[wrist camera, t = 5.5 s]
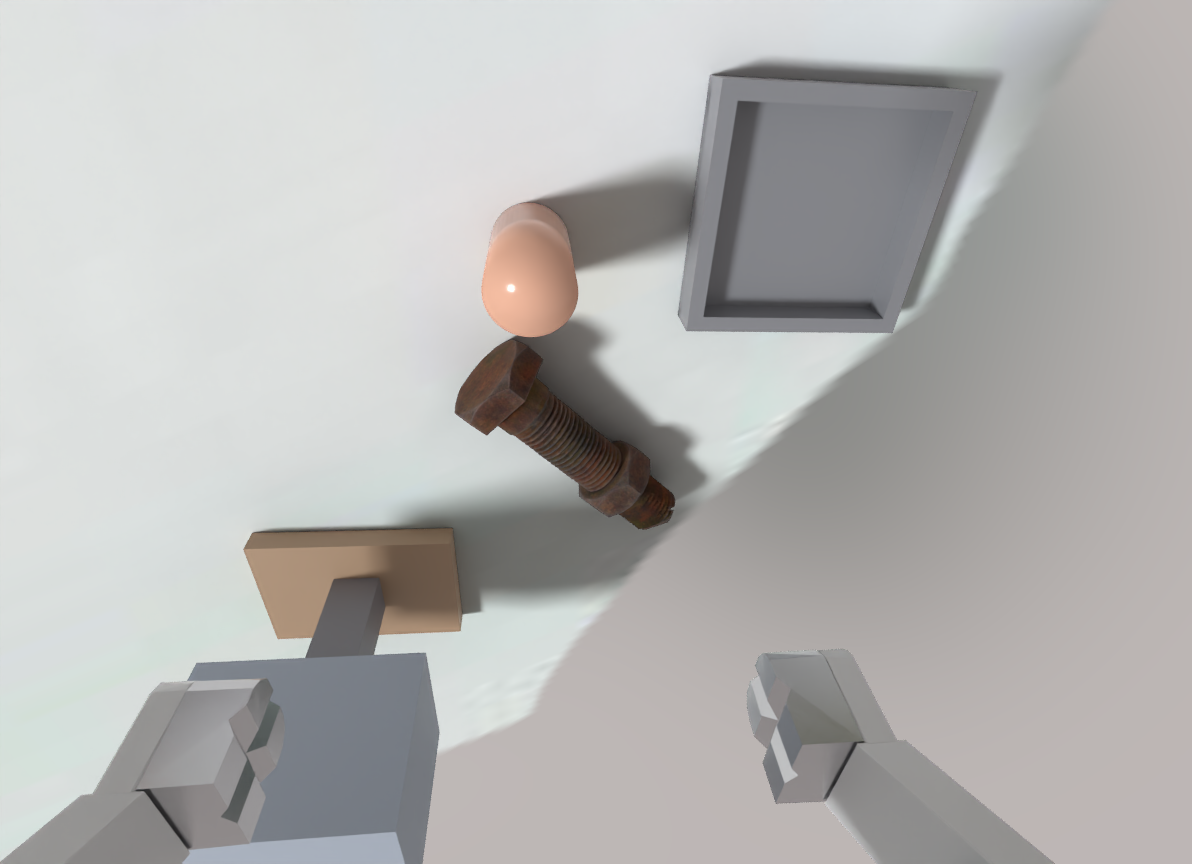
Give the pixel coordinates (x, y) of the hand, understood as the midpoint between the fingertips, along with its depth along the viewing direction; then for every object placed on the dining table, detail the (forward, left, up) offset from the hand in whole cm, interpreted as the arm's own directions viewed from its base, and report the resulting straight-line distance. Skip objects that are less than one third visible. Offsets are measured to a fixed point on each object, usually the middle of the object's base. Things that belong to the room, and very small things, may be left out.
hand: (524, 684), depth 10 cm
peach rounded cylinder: (0, 0, -25) cm, 25 cm away
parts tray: (-2, +14, -25) cm, 29 cm away
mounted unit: (+24, -12, -25) cm, 37 cm away
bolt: (+12, +3, -25) cm, 28 cm away
